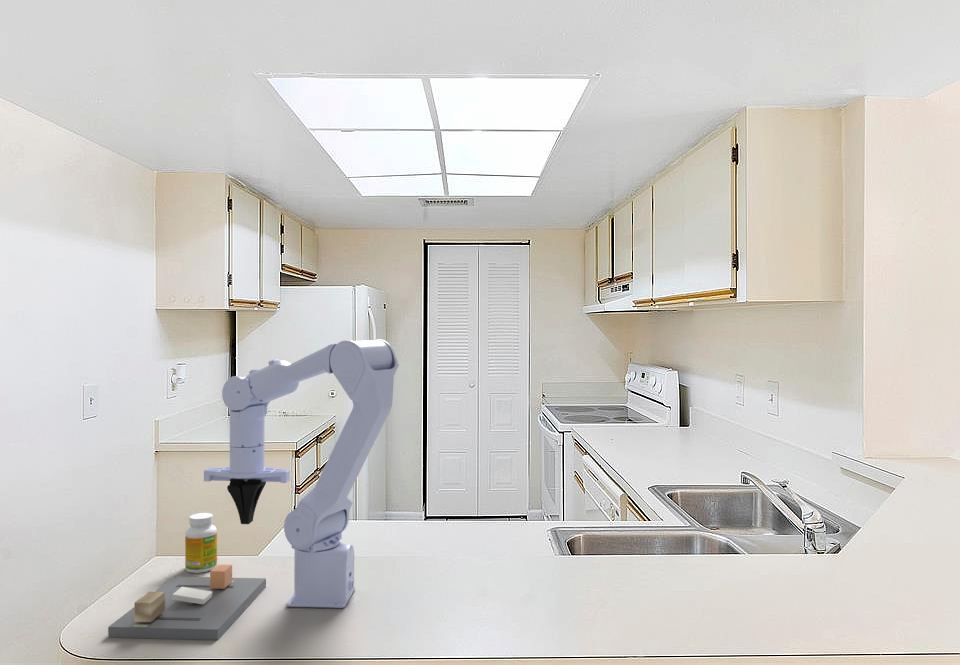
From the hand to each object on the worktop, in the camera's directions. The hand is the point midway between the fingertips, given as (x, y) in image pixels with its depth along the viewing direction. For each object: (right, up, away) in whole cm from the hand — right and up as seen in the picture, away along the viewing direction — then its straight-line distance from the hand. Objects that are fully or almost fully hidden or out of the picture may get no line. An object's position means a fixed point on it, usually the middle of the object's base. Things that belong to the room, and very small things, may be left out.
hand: (246, 522), depth 116 cm
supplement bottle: (-11, -11, +7) cm, 16 cm away
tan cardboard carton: (-8, -9, -18) cm, 21 cm away
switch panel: (-4, -11, -11) cm, 16 cm away
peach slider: (-2, -9, -6) cm, 11 cm away
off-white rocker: (-4, -8, -12) cm, 15 cm away
